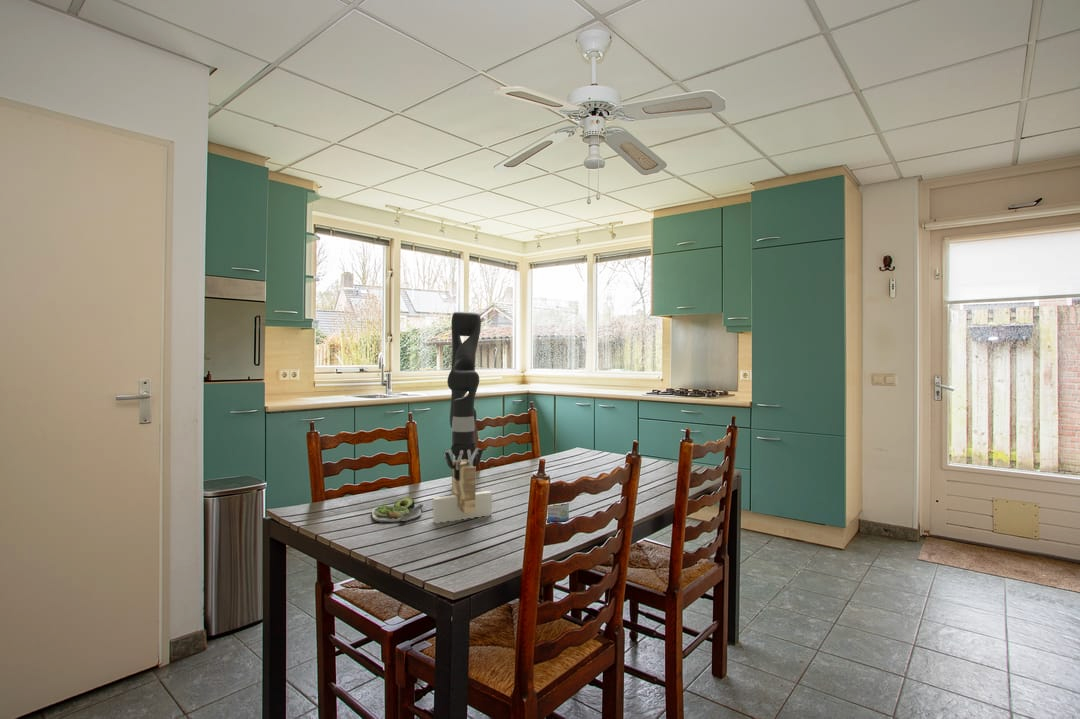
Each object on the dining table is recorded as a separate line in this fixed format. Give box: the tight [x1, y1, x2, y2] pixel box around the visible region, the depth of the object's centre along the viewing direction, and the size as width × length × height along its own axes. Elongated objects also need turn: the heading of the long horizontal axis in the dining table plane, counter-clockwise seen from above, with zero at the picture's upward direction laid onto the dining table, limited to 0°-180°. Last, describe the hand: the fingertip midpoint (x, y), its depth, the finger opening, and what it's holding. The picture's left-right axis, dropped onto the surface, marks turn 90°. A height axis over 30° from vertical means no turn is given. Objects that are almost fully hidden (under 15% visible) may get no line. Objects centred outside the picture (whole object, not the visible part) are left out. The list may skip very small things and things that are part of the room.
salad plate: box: [371, 497, 424, 523], centre depth 187 cm, size 19×18×5 cm
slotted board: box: [432, 490, 493, 524], centre depth 185 cm, size 2×20×8 cm, turn 117°
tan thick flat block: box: [451, 459, 476, 514], centre depth 184 cm, size 14×4×15 cm, turn 27°
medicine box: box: [546, 502, 570, 523], centre depth 184 cm, size 8×4×9 cm, turn 99°
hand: (463, 479), depth 184 cm, fingers closed on tan thick flat block, 3 cm apart
